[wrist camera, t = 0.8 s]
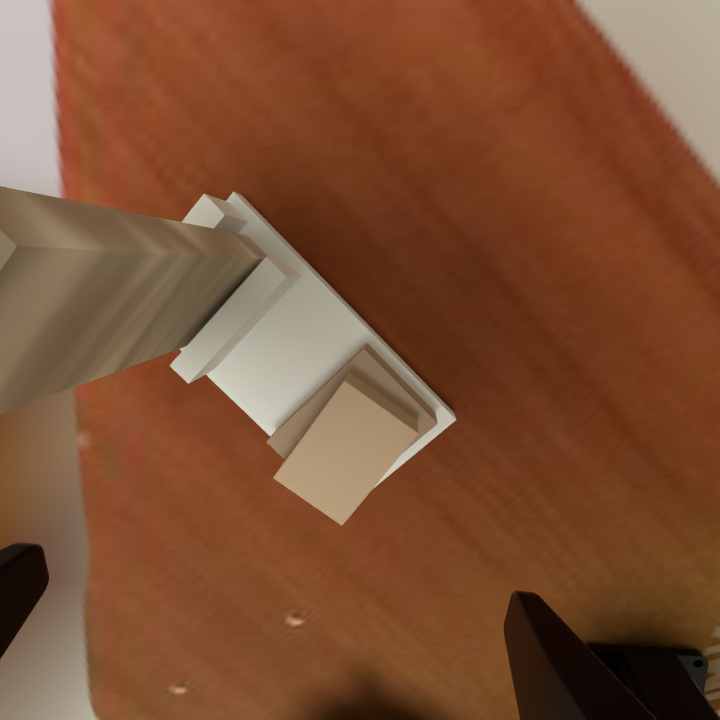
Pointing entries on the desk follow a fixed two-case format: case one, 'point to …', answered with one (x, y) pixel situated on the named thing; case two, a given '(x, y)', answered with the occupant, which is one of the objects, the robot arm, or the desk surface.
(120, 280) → the grey brown wooden board
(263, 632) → the desk surface
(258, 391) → the offcut rack
